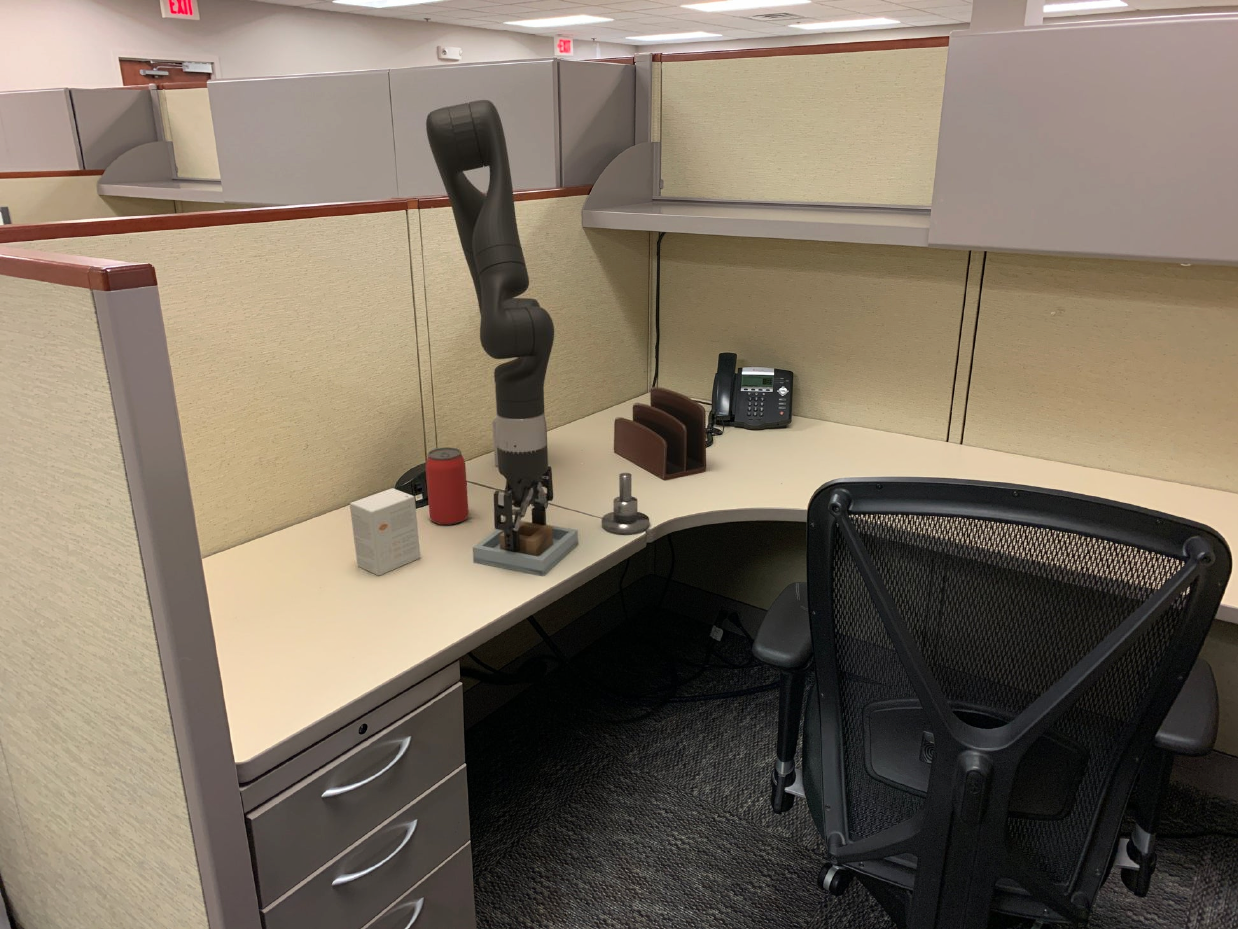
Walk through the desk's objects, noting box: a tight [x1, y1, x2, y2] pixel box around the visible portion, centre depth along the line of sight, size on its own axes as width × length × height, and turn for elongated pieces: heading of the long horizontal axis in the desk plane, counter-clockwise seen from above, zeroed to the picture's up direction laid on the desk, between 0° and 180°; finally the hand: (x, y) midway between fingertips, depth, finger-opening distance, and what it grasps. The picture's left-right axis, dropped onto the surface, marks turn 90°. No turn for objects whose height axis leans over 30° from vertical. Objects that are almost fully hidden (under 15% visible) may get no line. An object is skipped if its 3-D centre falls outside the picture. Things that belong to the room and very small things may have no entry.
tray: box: [472, 518, 579, 577], centre depth 136 cm, size 12×12×2 cm
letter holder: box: [613, 386, 707, 481], centre depth 174 cm, size 10×20×14 cm, turn 30°
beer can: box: [425, 446, 470, 526], centre depth 147 cm, size 7×7×12 cm
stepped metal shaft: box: [601, 472, 650, 536], centre depth 145 cm, size 8×8×9 cm
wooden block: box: [499, 521, 553, 556], centre depth 135 cm, size 6×6×3 cm
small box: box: [349, 487, 421, 576], centre depth 132 cm, size 8×6×10 cm
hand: (526, 540), depth 135 cm, fingers open, 8 cm apart
